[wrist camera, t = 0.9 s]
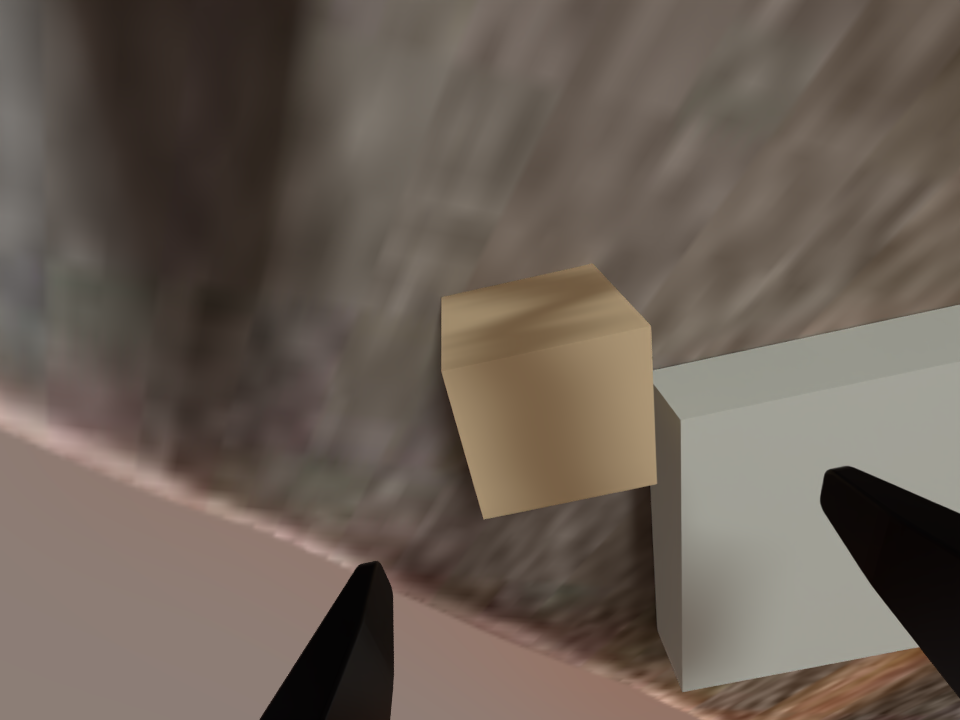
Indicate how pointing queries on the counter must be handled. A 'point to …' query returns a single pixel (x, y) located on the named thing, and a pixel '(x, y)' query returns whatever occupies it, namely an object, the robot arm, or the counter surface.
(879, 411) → the plinth
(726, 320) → the counter surface
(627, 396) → the pine cube
